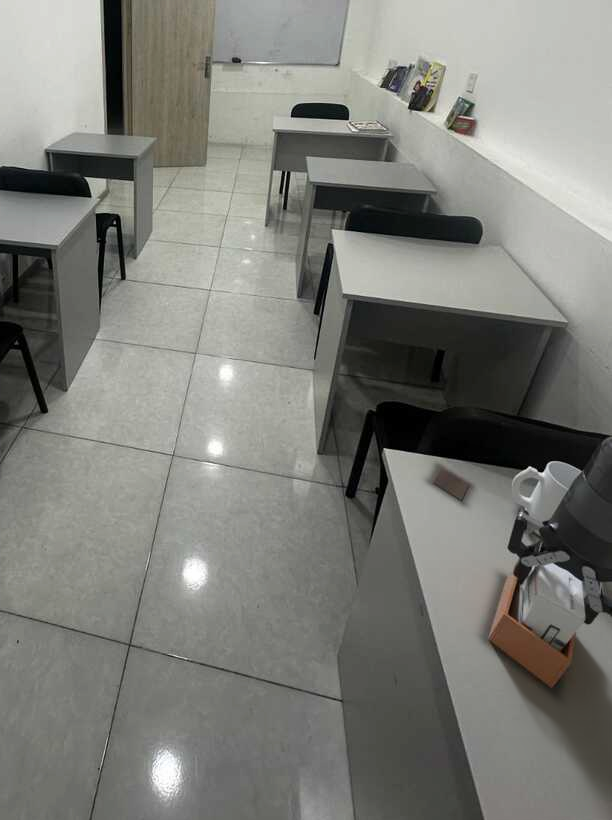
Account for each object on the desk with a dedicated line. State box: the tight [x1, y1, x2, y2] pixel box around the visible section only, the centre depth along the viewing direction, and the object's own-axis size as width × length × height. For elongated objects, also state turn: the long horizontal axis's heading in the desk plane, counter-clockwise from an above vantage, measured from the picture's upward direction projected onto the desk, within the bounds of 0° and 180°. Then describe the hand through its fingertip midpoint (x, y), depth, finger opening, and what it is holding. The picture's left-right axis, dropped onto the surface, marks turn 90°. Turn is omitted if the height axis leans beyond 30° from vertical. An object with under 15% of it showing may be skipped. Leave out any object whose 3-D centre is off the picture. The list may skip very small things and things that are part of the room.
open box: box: [487, 558, 577, 689], centre depth 68 cm, size 7×11×6 cm, turn 135°
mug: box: [511, 460, 583, 537], centre depth 83 cm, size 10×7×12 cm, turn 60°
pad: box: [432, 467, 470, 502], centre depth 91 cm, size 5×5×1 cm
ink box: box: [508, 563, 585, 652], centre depth 66 cm, size 9×5×12 cm, turn 145°
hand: (548, 597), depth 66 cm, fingers open, 6 cm apart
